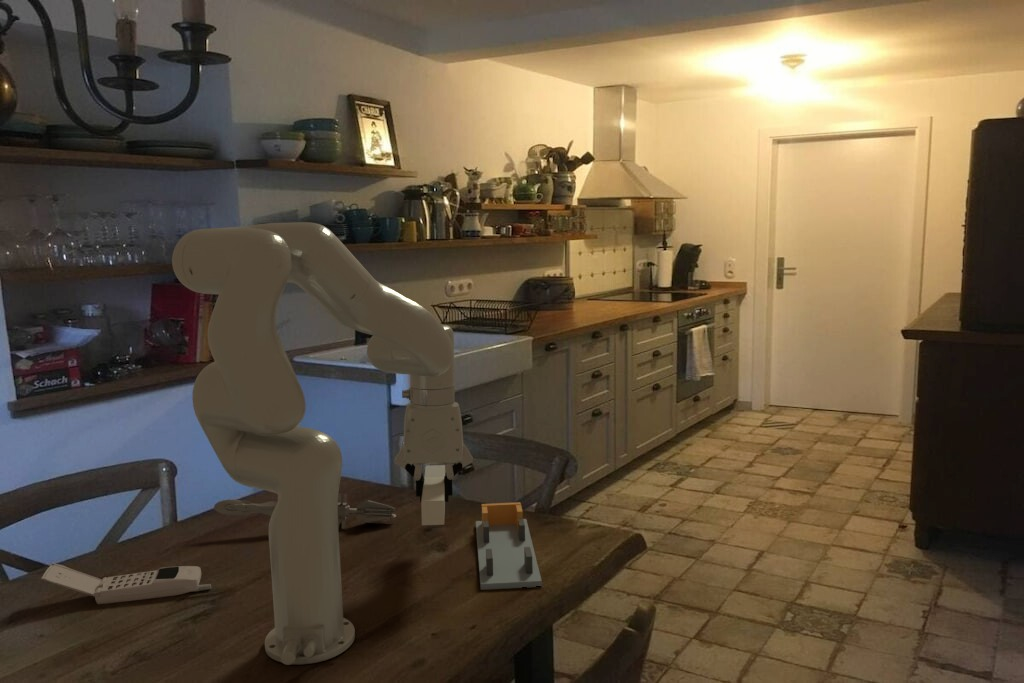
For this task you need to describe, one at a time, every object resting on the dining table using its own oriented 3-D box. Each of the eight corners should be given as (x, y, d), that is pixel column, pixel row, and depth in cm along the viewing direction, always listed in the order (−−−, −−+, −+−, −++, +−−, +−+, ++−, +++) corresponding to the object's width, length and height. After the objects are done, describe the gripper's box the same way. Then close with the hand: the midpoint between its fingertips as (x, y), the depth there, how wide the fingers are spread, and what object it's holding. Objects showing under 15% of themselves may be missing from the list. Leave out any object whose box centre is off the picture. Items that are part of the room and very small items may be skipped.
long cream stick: (444, 524, 131) (443, 500, 130) (421, 525, 131) (421, 501, 130) (445, 485, 153) (445, 465, 152) (426, 486, 152) (425, 465, 152)
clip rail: (541, 586, 133) (541, 557, 133) (480, 589, 133) (480, 560, 132) (526, 523, 161) (525, 499, 160) (475, 526, 160) (475, 501, 159)
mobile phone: (49, 563, 133) (211, 545, 138) (54, 596, 134) (214, 577, 139) (38, 579, 127) (207, 559, 133) (42, 614, 128) (210, 593, 134)
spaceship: (220, 487, 162) (212, 484, 155) (397, 493, 167) (397, 491, 160) (215, 528, 160) (207, 527, 153) (394, 533, 165) (395, 532, 158)
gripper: (382, 401, 135) (384, 508, 137) (481, 399, 136) (482, 505, 139) (385, 393, 142) (388, 494, 145) (480, 391, 144) (481, 492, 146)
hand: (434, 498), depth 142 cm, fingers closed on long cream stick, 3 cm apart
